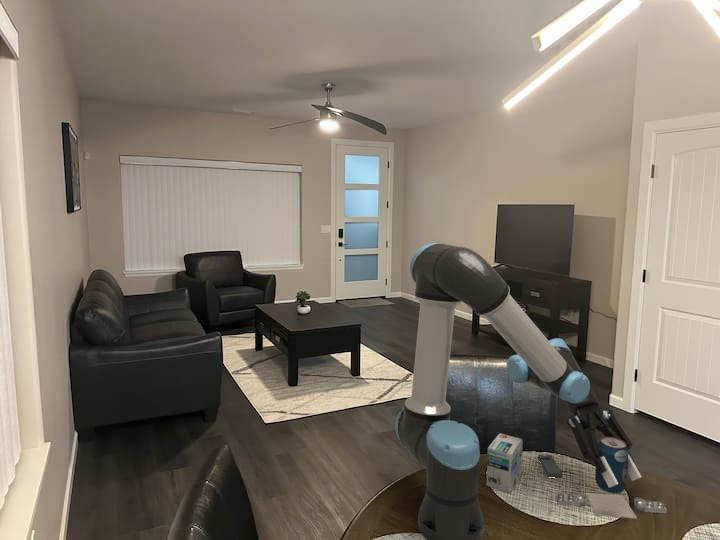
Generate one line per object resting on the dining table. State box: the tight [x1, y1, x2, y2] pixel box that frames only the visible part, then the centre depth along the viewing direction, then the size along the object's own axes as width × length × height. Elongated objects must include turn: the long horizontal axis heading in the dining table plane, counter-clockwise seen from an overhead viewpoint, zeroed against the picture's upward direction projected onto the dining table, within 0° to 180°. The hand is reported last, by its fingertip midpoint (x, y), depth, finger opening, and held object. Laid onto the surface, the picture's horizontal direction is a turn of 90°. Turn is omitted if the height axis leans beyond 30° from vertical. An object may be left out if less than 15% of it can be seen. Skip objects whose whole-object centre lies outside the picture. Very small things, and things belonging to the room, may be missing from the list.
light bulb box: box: [486, 432, 524, 494], centre depth 137 cm, size 11×7×11 cm, turn 148°
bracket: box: [537, 454, 563, 479], centre depth 143 cm, size 4×10×2 cm, turn 175°
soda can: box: [594, 436, 630, 495], centre depth 125 cm, size 7×7×12 cm
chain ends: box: [555, 492, 668, 520], centre depth 126 cm, size 25×9×2 cm, turn 82°
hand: (625, 482), depth 122 cm, fingers closed on soda can, 7 cm apart
